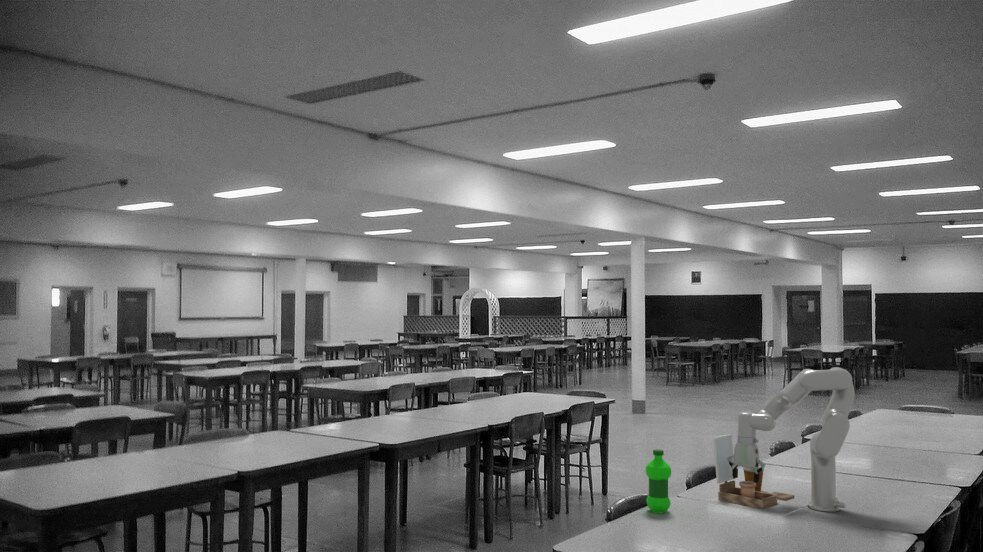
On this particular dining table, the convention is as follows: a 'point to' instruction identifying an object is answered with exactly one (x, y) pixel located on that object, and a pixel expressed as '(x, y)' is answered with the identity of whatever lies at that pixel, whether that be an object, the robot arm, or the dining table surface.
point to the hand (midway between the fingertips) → (745, 480)
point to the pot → (747, 489)
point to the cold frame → (734, 496)
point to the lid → (723, 457)
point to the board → (783, 496)
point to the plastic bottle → (658, 483)
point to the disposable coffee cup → (750, 477)
